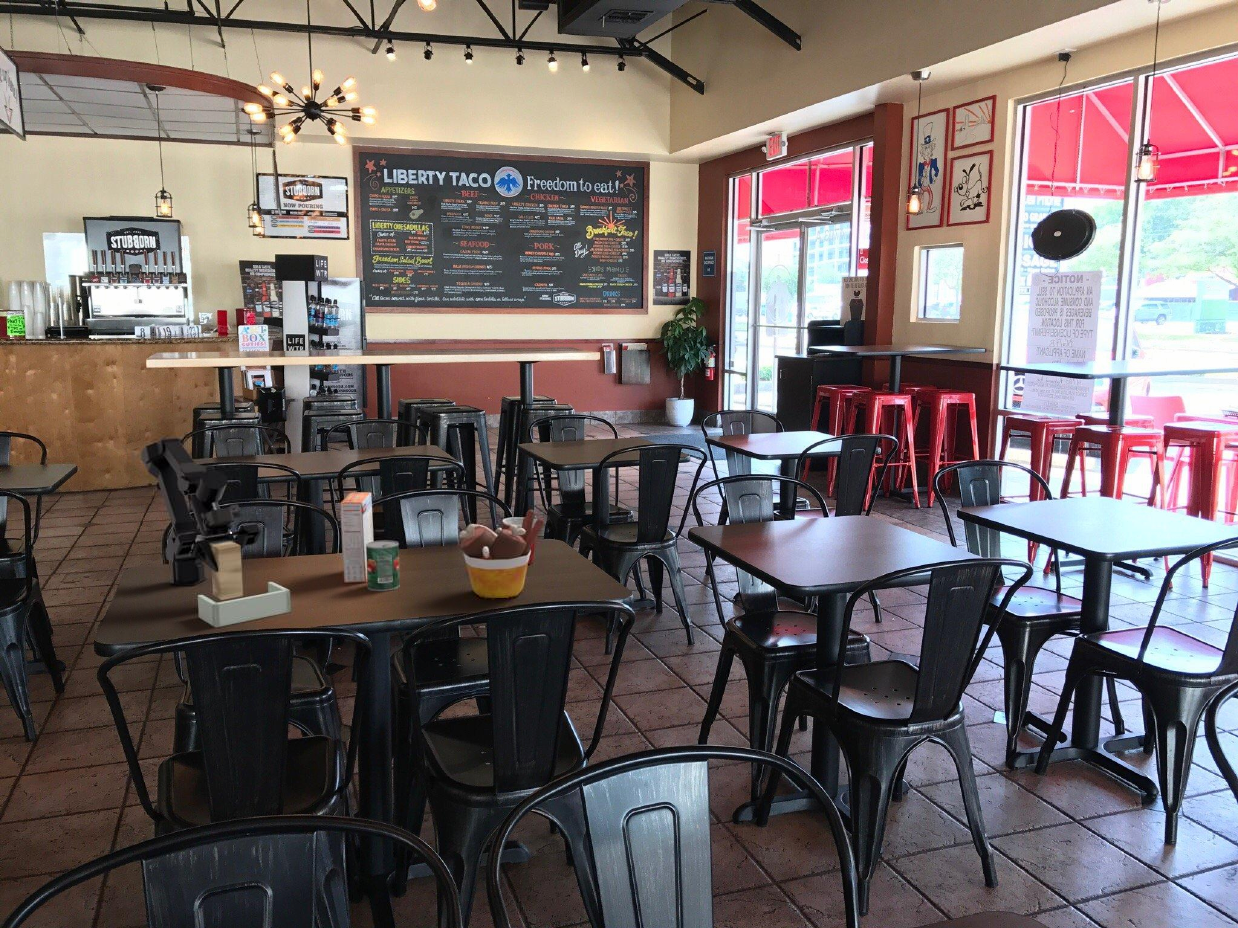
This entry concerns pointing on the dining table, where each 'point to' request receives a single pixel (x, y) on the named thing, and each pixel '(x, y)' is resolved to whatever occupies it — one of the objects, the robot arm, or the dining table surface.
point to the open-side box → (245, 607)
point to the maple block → (227, 570)
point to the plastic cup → (518, 522)
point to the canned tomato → (382, 565)
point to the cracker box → (356, 535)
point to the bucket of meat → (499, 556)
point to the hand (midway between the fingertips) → (228, 569)
